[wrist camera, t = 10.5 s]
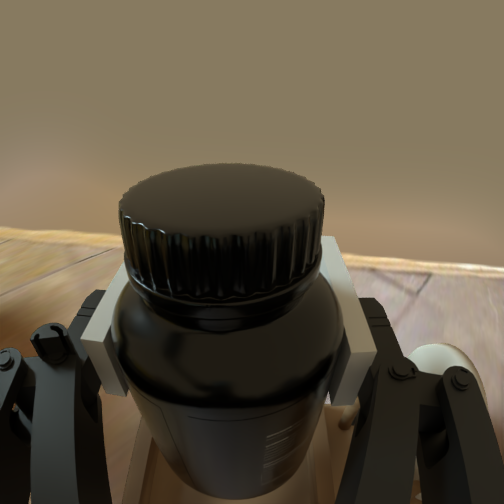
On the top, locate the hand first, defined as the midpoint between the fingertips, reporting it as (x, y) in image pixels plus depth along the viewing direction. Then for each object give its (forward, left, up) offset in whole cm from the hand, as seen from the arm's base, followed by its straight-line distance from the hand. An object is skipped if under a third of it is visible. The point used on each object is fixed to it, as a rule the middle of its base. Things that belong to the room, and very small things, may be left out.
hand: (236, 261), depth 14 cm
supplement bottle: (+5, -2, -7) cm, 9 cm away
